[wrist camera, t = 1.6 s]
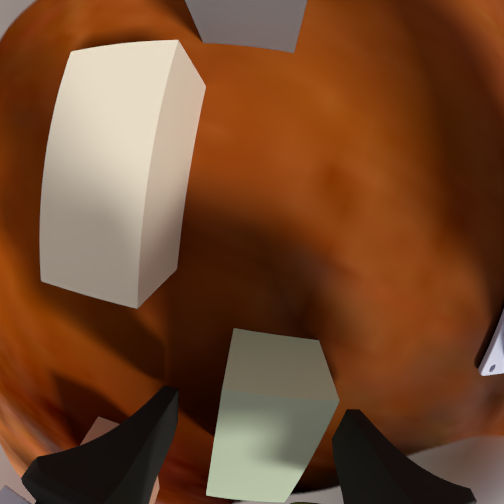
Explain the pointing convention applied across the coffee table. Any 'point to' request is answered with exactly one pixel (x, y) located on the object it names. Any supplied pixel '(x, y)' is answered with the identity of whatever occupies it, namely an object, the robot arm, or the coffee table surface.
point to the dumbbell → (303, 503)
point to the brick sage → (269, 416)
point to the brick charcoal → (249, 22)
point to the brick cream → (119, 170)
